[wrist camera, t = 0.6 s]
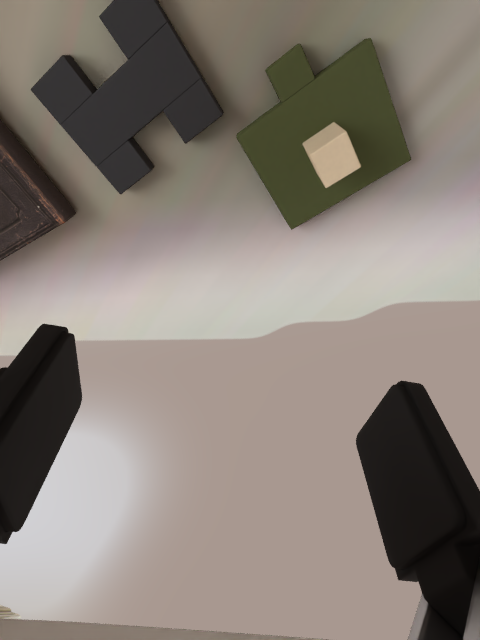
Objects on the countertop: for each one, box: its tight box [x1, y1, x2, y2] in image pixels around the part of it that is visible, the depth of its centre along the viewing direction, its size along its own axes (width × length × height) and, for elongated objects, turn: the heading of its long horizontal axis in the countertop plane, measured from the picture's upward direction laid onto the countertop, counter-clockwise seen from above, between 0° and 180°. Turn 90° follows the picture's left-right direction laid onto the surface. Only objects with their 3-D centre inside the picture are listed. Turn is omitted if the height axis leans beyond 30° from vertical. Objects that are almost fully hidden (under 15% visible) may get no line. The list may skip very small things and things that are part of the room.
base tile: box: [31, 0, 223, 194], centre depth 29 cm, size 12×10×2 cm
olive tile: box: [237, 38, 411, 230], centre depth 28 cm, size 12×13×6 cm
